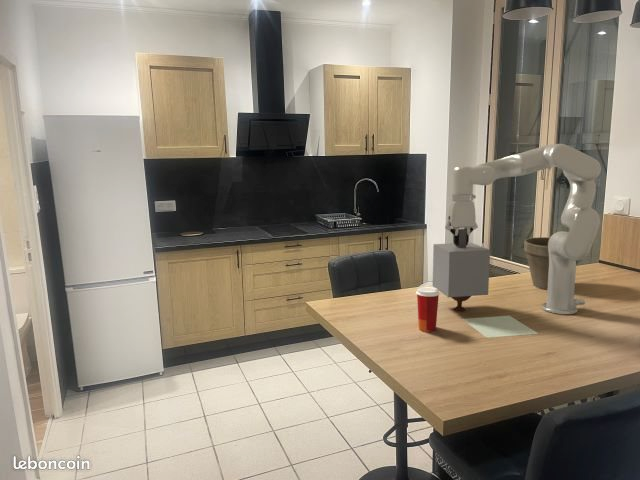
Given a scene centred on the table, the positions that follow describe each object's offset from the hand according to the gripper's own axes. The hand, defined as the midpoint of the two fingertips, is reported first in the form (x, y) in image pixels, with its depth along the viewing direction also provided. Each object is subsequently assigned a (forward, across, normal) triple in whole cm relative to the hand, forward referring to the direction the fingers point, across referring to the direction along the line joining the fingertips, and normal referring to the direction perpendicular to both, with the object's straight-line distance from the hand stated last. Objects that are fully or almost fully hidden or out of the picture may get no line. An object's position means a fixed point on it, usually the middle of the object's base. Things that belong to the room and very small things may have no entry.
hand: (460, 244), depth 180 cm
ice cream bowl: (+28, 0, 0) cm, 28 cm away
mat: (+27, -6, +20) cm, 34 cm away
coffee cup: (+28, +20, +17) cm, 38 cm away
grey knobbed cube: (+19, 0, 0) cm, 19 cm away
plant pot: (+27, -56, -24) cm, 67 cm away
